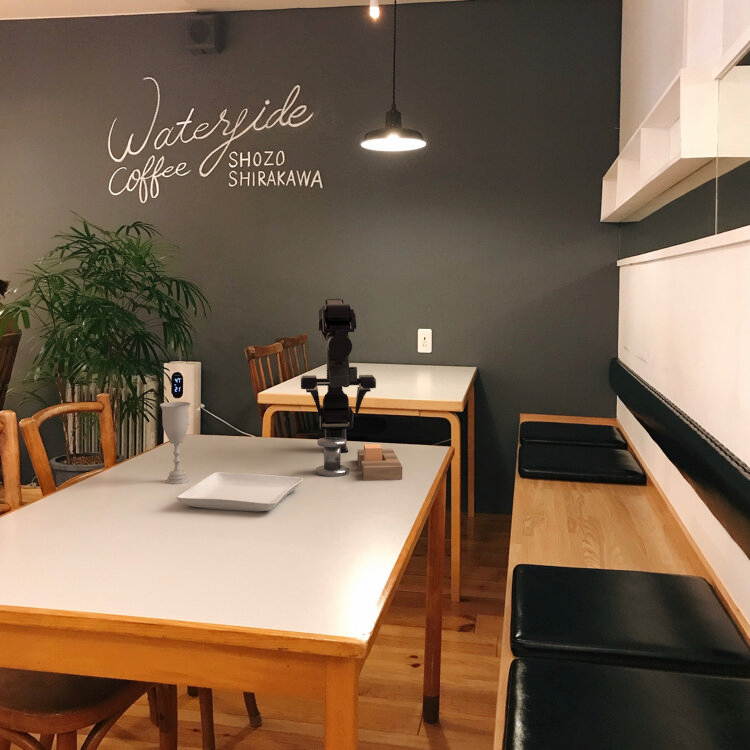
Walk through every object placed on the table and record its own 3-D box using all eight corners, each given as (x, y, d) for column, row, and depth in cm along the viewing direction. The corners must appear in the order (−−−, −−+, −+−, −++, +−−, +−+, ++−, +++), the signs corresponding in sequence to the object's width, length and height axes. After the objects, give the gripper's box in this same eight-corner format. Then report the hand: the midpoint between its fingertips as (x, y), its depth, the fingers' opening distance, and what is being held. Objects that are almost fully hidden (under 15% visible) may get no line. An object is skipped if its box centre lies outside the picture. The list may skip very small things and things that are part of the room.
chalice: (188, 485, 185) (186, 406, 183) (158, 485, 186) (155, 406, 183) (195, 477, 193) (193, 401, 191) (167, 477, 193) (164, 401, 191)
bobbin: (315, 469, 201) (315, 437, 200) (347, 468, 202) (347, 436, 201) (316, 477, 193) (315, 443, 192) (349, 476, 194) (349, 443, 193)
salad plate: (274, 518, 162) (274, 501, 161) (174, 512, 166) (173, 495, 165) (305, 491, 182) (305, 476, 182) (215, 485, 186) (215, 471, 186)
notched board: (357, 460, 210) (357, 449, 210) (392, 460, 211) (392, 448, 211) (363, 480, 190) (363, 467, 190) (402, 479, 191) (402, 466, 191)
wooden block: (363, 468, 203) (363, 444, 202) (379, 467, 203) (379, 443, 202) (365, 472, 198) (365, 448, 197) (382, 472, 198) (382, 448, 197)
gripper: (300, 357, 196) (301, 422, 198) (378, 357, 198) (378, 420, 200) (300, 353, 207) (301, 414, 209) (373, 352, 209) (373, 413, 211)
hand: (338, 415), depth 207 cm, fingers open, 9 cm apart
